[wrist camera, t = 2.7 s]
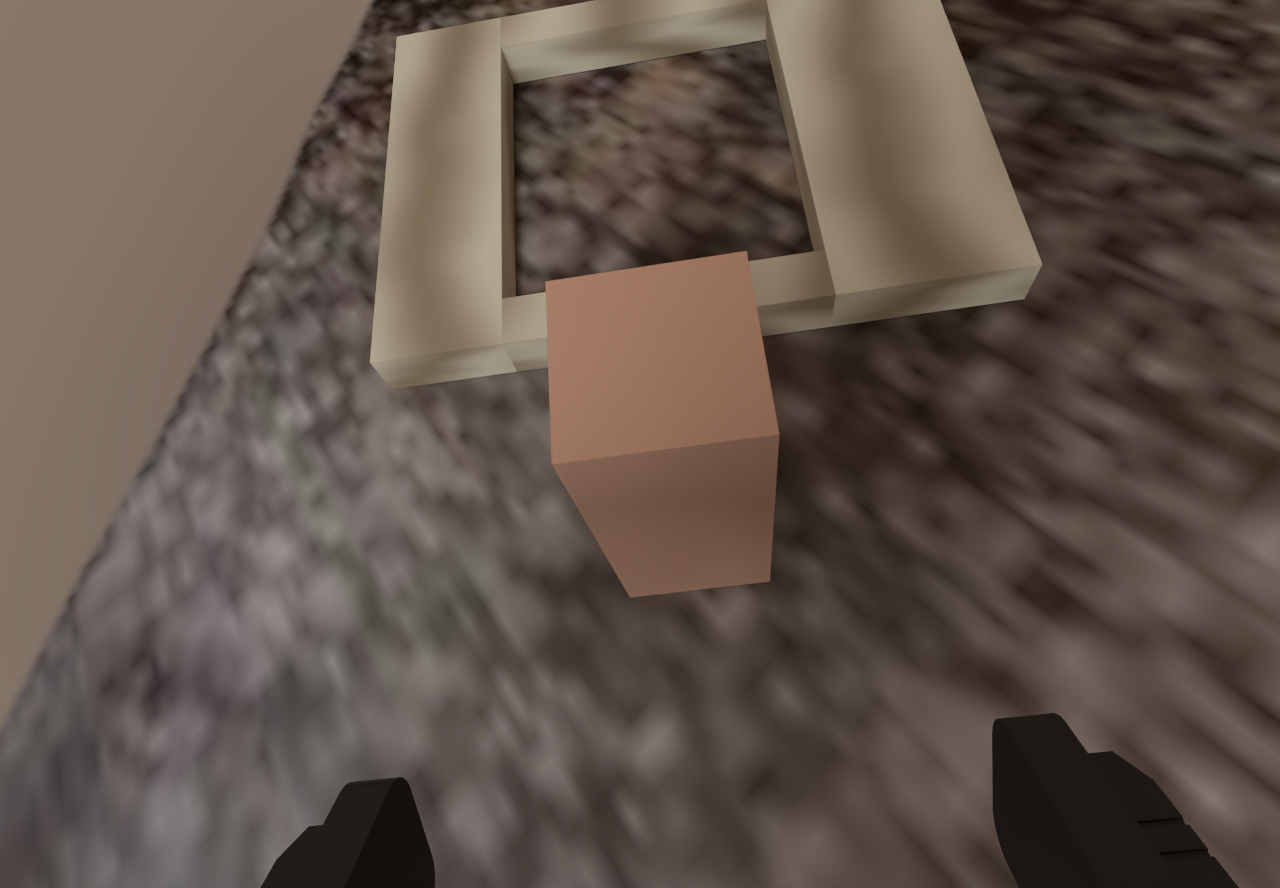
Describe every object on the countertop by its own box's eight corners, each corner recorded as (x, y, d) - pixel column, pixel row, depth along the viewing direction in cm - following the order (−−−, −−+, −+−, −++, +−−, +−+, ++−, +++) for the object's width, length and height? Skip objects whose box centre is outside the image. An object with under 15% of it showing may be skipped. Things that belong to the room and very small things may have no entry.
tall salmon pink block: (749, 453, 27) (746, 251, 17) (769, 581, 25) (779, 434, 15) (620, 470, 28) (545, 281, 18) (630, 597, 26) (551, 464, 16)
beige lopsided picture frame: (909, -16, 36) (917, -59, 34) (1024, 299, 28) (1042, 264, 26) (413, 72, 38) (397, 36, 36) (392, 389, 30) (370, 362, 29)
